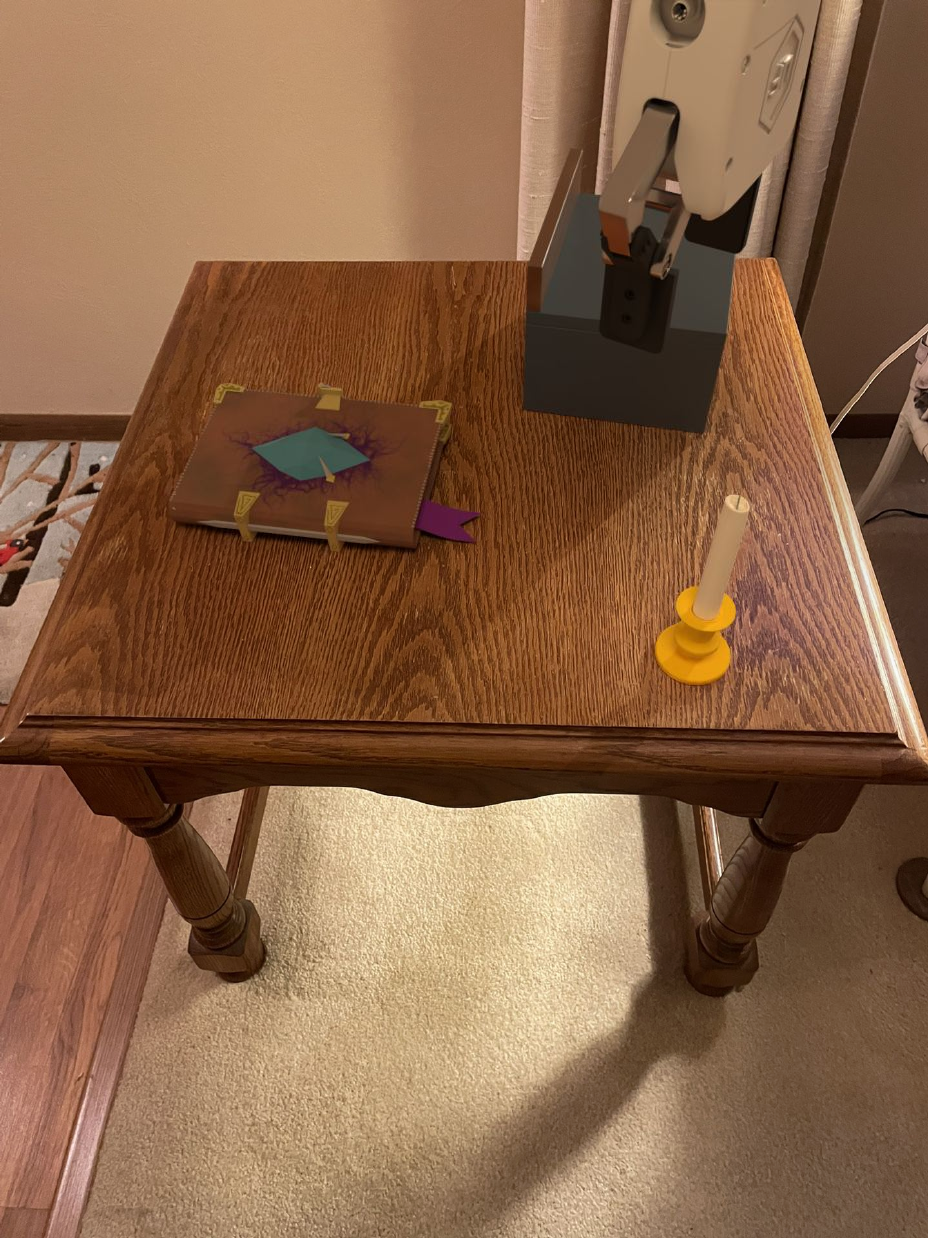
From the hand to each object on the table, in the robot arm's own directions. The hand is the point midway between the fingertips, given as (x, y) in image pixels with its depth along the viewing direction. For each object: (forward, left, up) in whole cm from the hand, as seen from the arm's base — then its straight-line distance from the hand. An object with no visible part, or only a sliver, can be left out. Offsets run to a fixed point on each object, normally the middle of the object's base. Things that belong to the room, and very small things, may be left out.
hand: (675, 291), depth 44 cm
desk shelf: (+4, -32, -27) cm, 42 cm away
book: (+25, -10, -27) cm, 38 cm away
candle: (-5, +2, -27) cm, 27 cm away
